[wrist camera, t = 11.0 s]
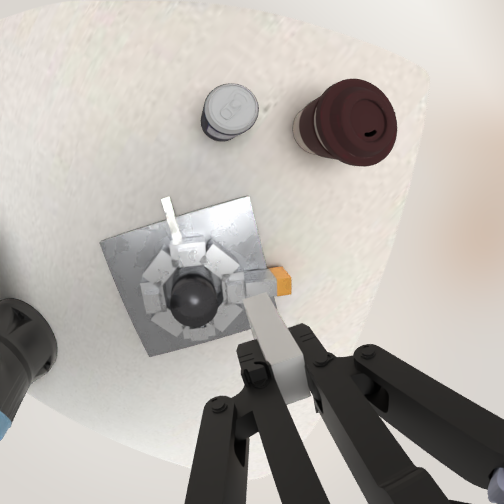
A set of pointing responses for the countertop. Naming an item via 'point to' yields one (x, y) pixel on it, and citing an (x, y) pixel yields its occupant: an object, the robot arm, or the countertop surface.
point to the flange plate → (151, 240)
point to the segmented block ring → (219, 263)
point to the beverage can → (229, 112)
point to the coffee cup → (348, 124)
